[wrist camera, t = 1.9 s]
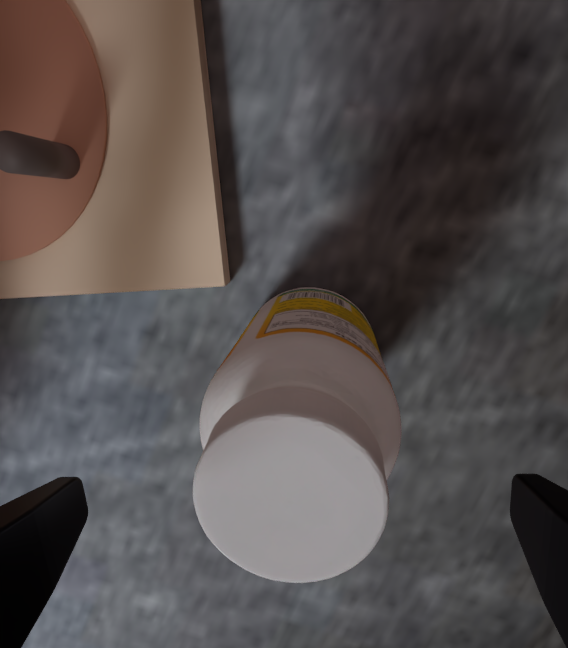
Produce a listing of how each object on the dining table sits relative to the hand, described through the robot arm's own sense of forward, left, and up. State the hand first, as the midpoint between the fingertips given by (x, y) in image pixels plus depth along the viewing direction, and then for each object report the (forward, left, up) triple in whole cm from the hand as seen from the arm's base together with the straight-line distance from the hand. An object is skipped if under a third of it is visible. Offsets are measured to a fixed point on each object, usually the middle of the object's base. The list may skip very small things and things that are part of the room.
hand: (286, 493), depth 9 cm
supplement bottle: (0, 0, -10) cm, 9 cm away
